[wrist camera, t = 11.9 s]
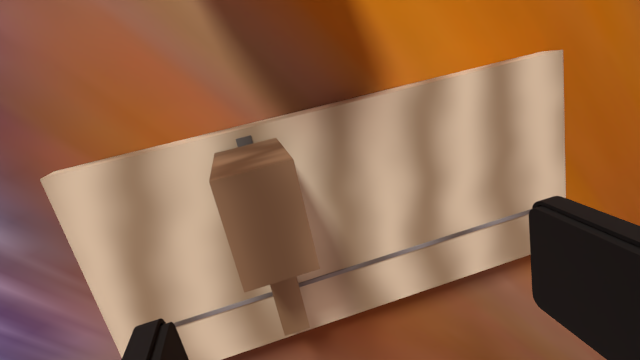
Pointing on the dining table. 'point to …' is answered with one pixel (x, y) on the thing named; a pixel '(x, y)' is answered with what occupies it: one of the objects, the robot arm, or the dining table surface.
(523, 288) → the dining table surface
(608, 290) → the robot arm
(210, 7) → the dining table surface
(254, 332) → the board
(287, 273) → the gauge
